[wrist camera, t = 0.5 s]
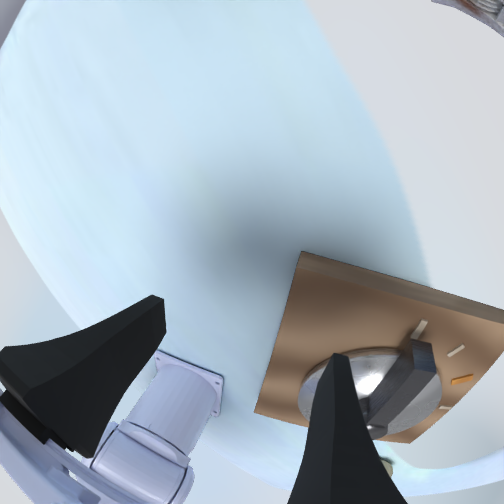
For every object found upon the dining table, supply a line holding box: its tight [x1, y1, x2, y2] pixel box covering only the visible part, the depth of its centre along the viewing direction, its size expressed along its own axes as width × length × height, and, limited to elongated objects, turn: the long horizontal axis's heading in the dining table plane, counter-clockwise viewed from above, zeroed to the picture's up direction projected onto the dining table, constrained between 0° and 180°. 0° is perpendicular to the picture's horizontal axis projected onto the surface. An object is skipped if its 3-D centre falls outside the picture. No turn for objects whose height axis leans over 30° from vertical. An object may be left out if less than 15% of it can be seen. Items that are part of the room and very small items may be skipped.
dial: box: [298, 339, 442, 440], centre depth 18 cm, size 14×12×4 cm
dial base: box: [254, 251, 504, 444], centre depth 20 cm, size 18×18×2 cm
